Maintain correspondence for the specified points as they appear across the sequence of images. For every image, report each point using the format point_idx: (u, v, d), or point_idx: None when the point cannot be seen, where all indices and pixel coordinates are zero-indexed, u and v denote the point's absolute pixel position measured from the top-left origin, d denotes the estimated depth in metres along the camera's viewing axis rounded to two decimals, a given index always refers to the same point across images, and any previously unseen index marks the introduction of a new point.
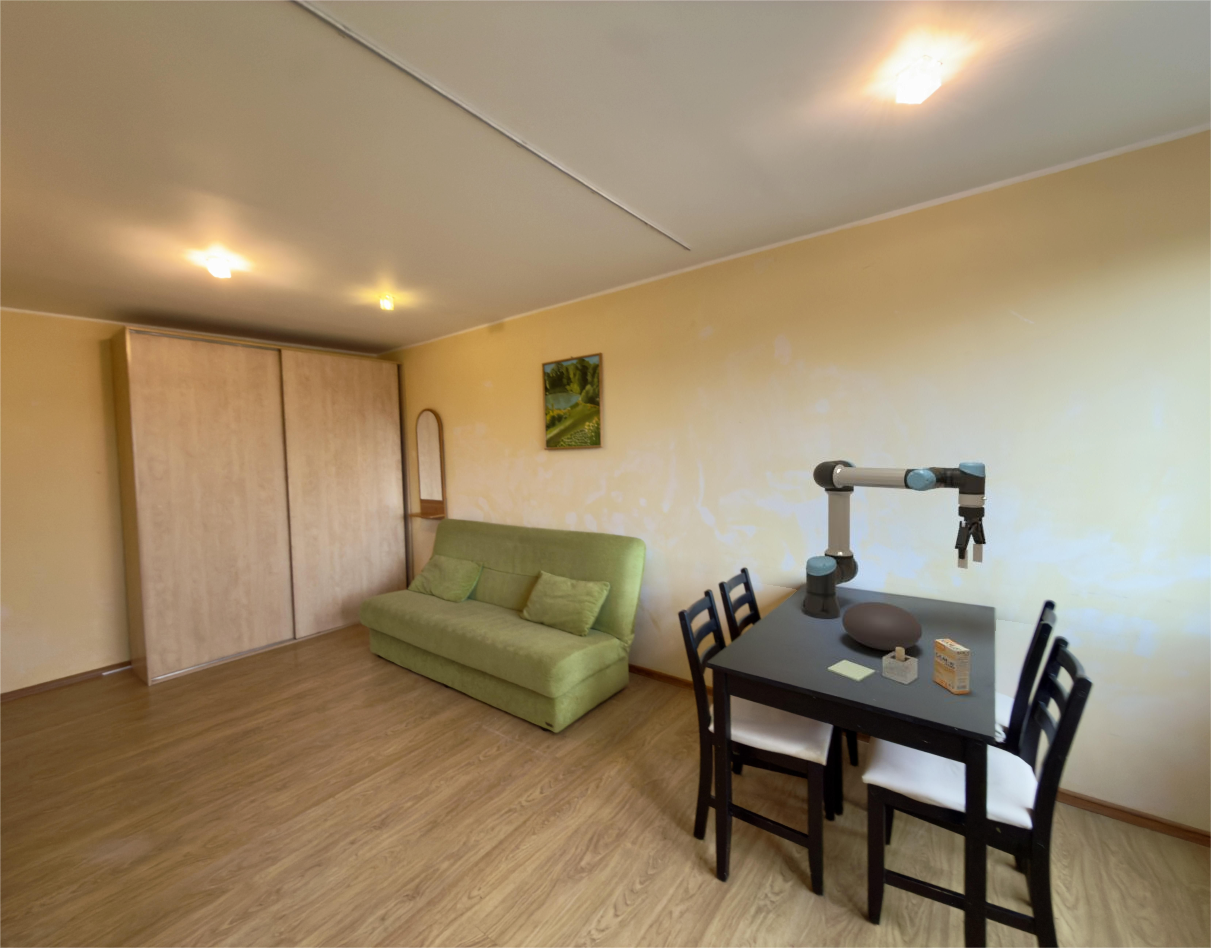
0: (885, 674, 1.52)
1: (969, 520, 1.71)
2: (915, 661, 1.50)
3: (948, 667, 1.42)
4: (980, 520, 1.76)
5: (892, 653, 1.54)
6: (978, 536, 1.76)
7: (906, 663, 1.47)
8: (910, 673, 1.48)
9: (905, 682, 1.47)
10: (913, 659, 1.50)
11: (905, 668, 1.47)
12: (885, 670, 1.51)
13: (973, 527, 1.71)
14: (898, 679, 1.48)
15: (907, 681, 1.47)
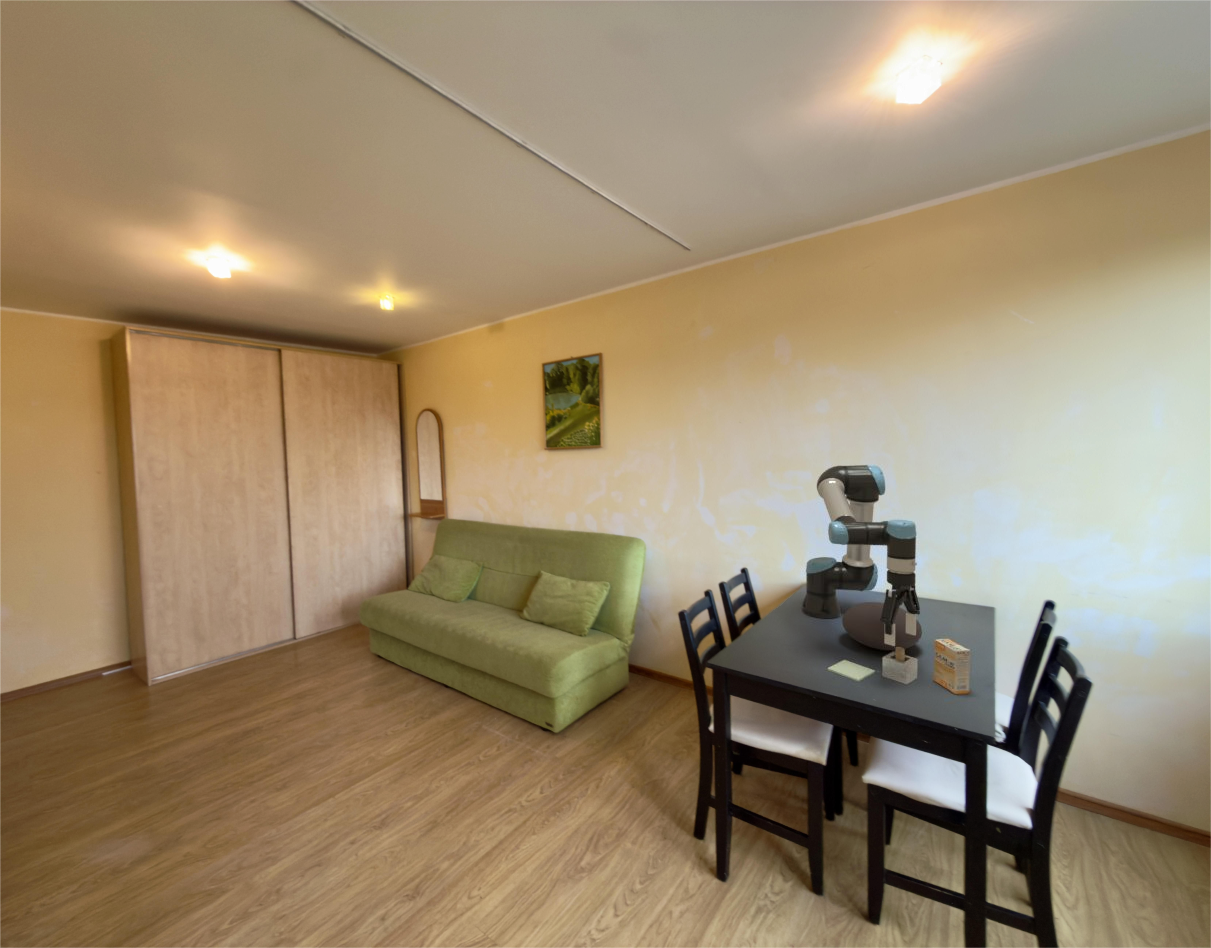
0: (885, 674, 1.52)
1: (897, 588, 1.47)
2: (915, 661, 1.50)
3: (948, 667, 1.42)
4: (912, 586, 1.52)
5: (892, 653, 1.54)
6: (910, 605, 1.52)
7: (906, 663, 1.47)
8: (910, 673, 1.48)
9: (905, 682, 1.47)
10: (913, 659, 1.50)
11: (905, 668, 1.47)
12: (885, 670, 1.51)
13: (902, 597, 1.47)
14: (898, 679, 1.48)
15: (907, 681, 1.47)
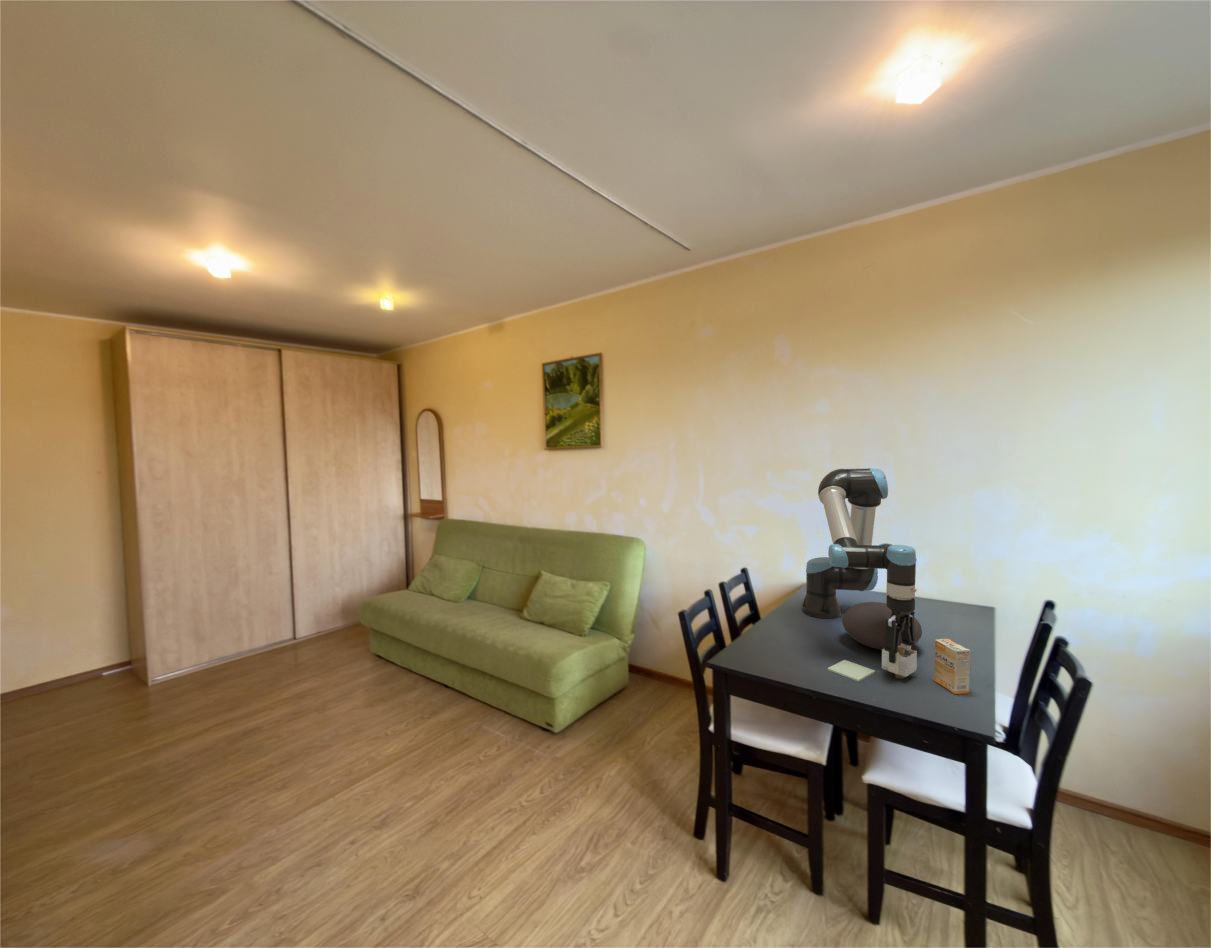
0: (884, 666, 1.52)
1: (896, 615, 1.47)
2: (914, 653, 1.50)
3: (948, 667, 1.42)
4: (912, 614, 1.53)
5: None
6: (907, 633, 1.52)
7: (905, 655, 1.48)
8: (910, 665, 1.48)
9: (904, 674, 1.47)
10: (912, 652, 1.50)
11: (904, 660, 1.47)
12: (884, 662, 1.52)
13: (902, 624, 1.48)
14: None
15: (906, 673, 1.47)
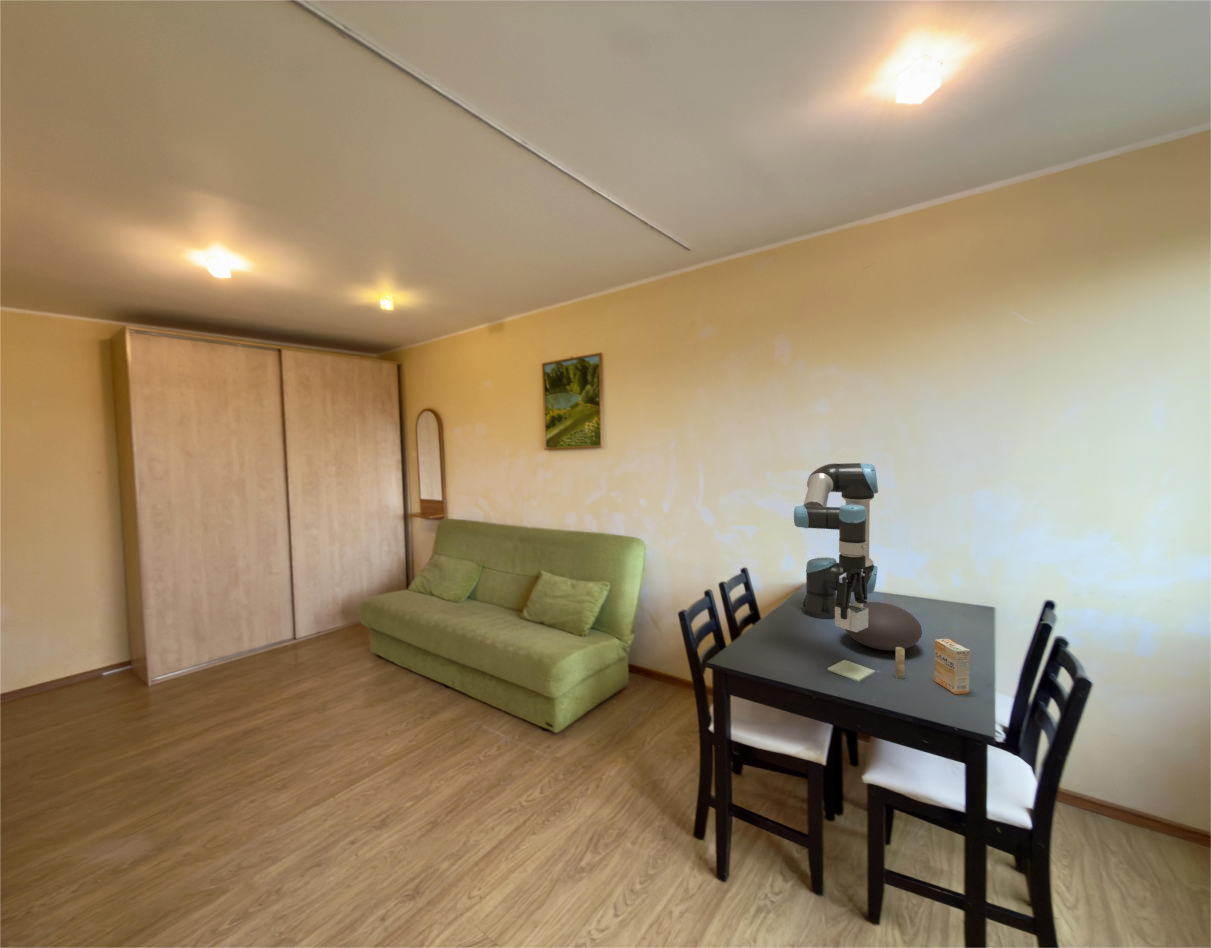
0: (837, 624, 1.55)
1: (847, 572, 1.51)
2: (866, 610, 1.53)
3: (948, 667, 1.42)
4: (864, 572, 1.56)
5: None
6: (859, 591, 1.55)
7: (856, 611, 1.51)
8: (861, 621, 1.52)
9: (855, 630, 1.51)
10: (864, 608, 1.53)
11: (855, 616, 1.50)
12: (837, 620, 1.55)
13: (853, 580, 1.51)
14: None
15: (857, 629, 1.51)
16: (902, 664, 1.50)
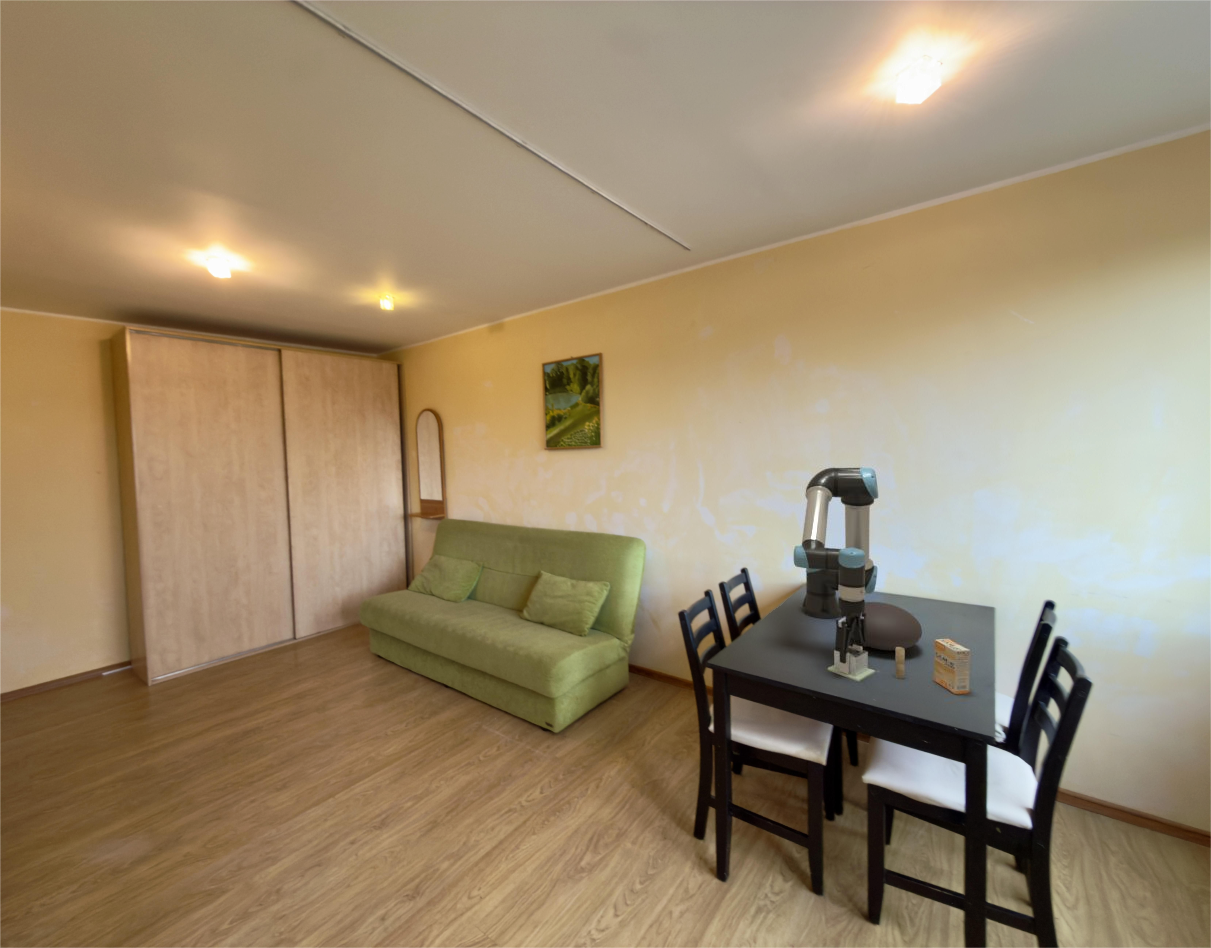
0: (836, 666, 1.56)
1: (846, 617, 1.52)
2: (865, 654, 1.54)
3: (948, 667, 1.42)
4: (863, 615, 1.57)
5: None
6: (858, 634, 1.56)
7: (855, 656, 1.52)
8: (860, 665, 1.52)
9: (854, 674, 1.51)
10: (863, 652, 1.54)
11: (854, 660, 1.51)
12: (836, 663, 1.56)
13: (852, 625, 1.52)
14: None
15: (856, 673, 1.51)
16: (902, 664, 1.50)
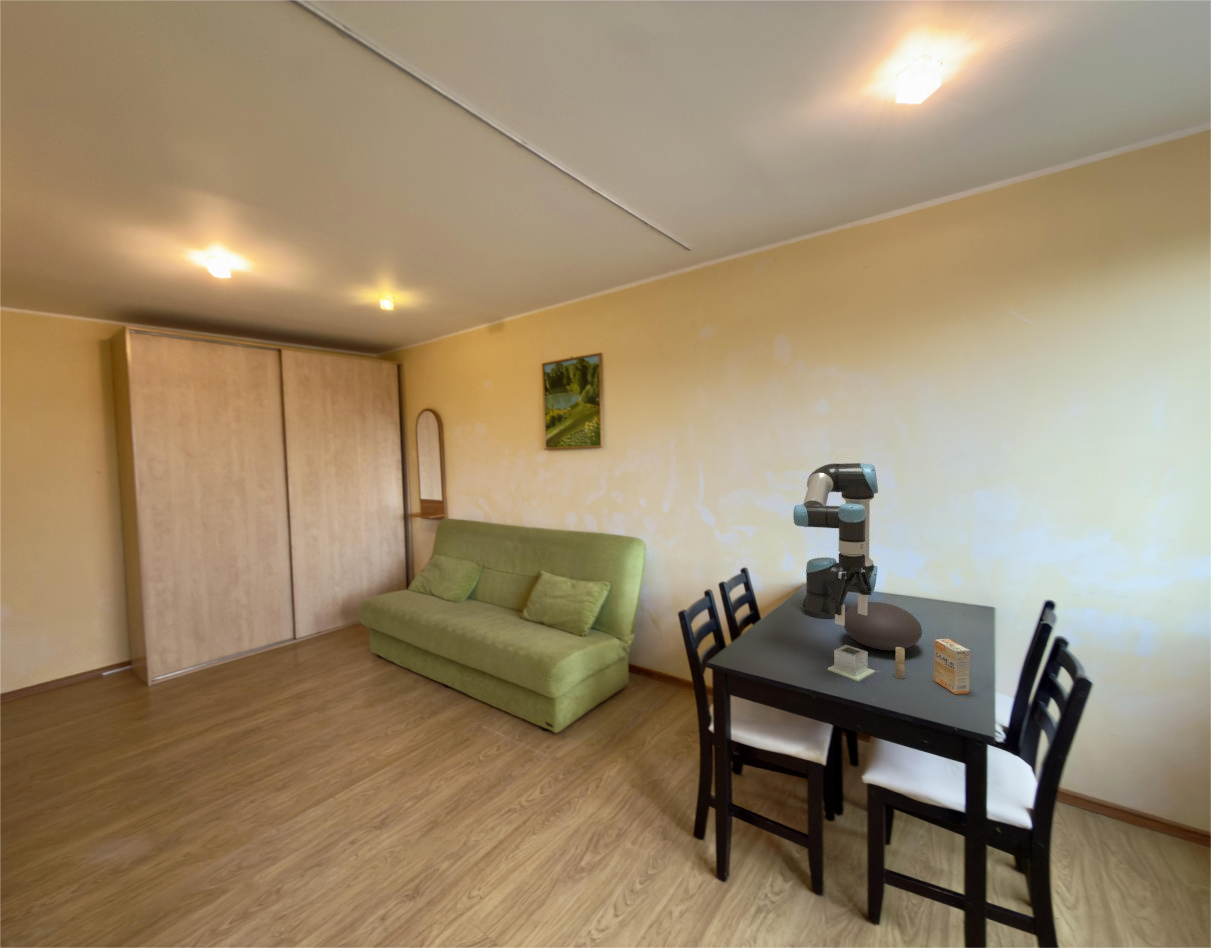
0: (836, 666, 1.56)
1: (847, 570, 1.51)
2: (865, 654, 1.54)
3: (948, 667, 1.42)
4: (864, 568, 1.57)
5: (844, 646, 1.59)
6: (861, 586, 1.57)
7: (855, 656, 1.52)
8: (860, 665, 1.52)
9: (854, 674, 1.51)
10: (863, 652, 1.54)
11: (854, 660, 1.51)
12: (836, 663, 1.56)
13: (852, 578, 1.51)
14: (848, 671, 1.53)
15: (856, 673, 1.51)
16: (902, 664, 1.50)
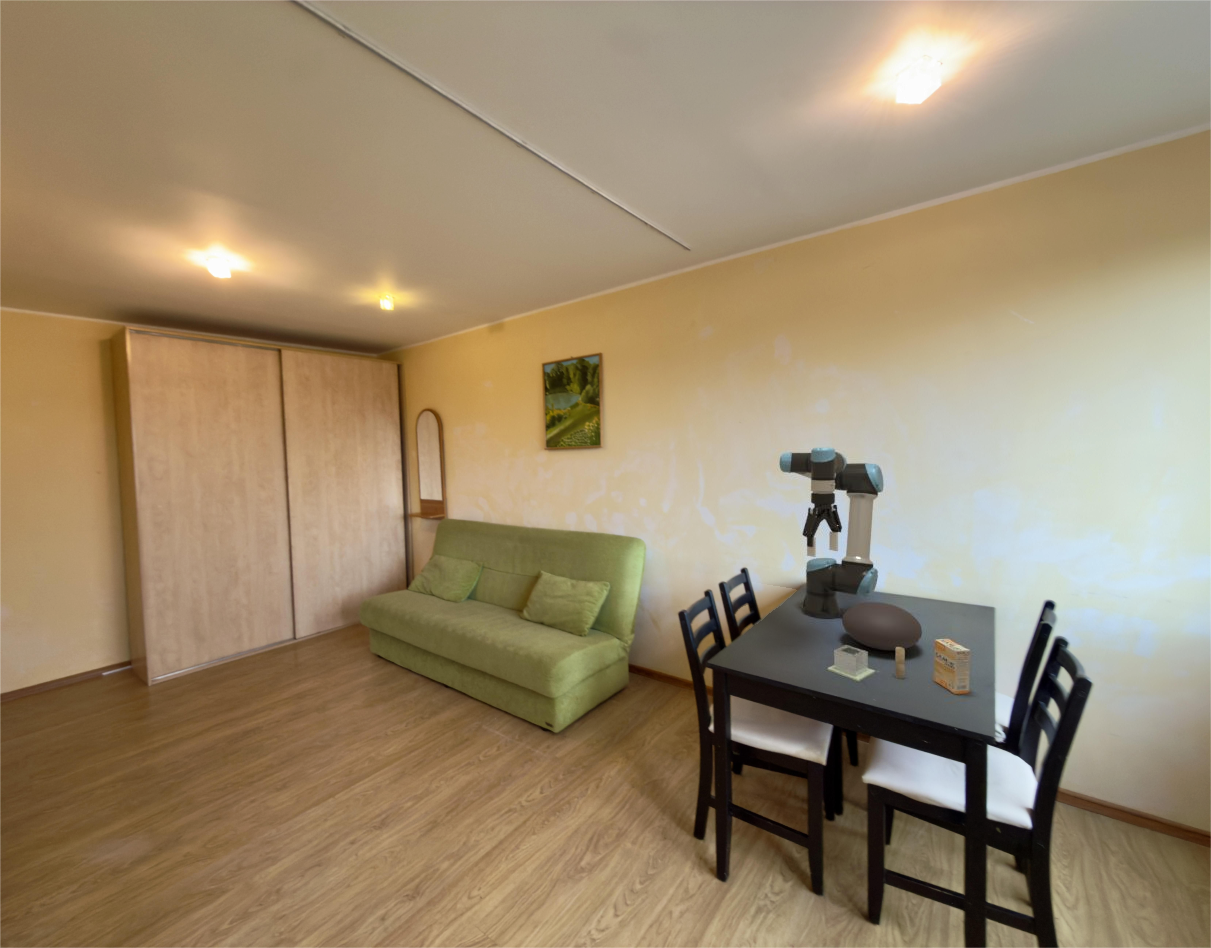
0: (836, 666, 1.56)
1: (818, 507, 1.66)
2: (865, 654, 1.54)
3: (948, 667, 1.42)
4: (834, 507, 1.71)
5: (844, 646, 1.59)
6: (832, 524, 1.71)
7: (855, 656, 1.52)
8: (860, 665, 1.52)
9: (854, 674, 1.51)
10: (863, 652, 1.54)
11: (854, 660, 1.51)
12: (836, 663, 1.56)
13: (822, 514, 1.66)
14: (848, 671, 1.53)
15: (856, 673, 1.51)
16: (902, 664, 1.50)
